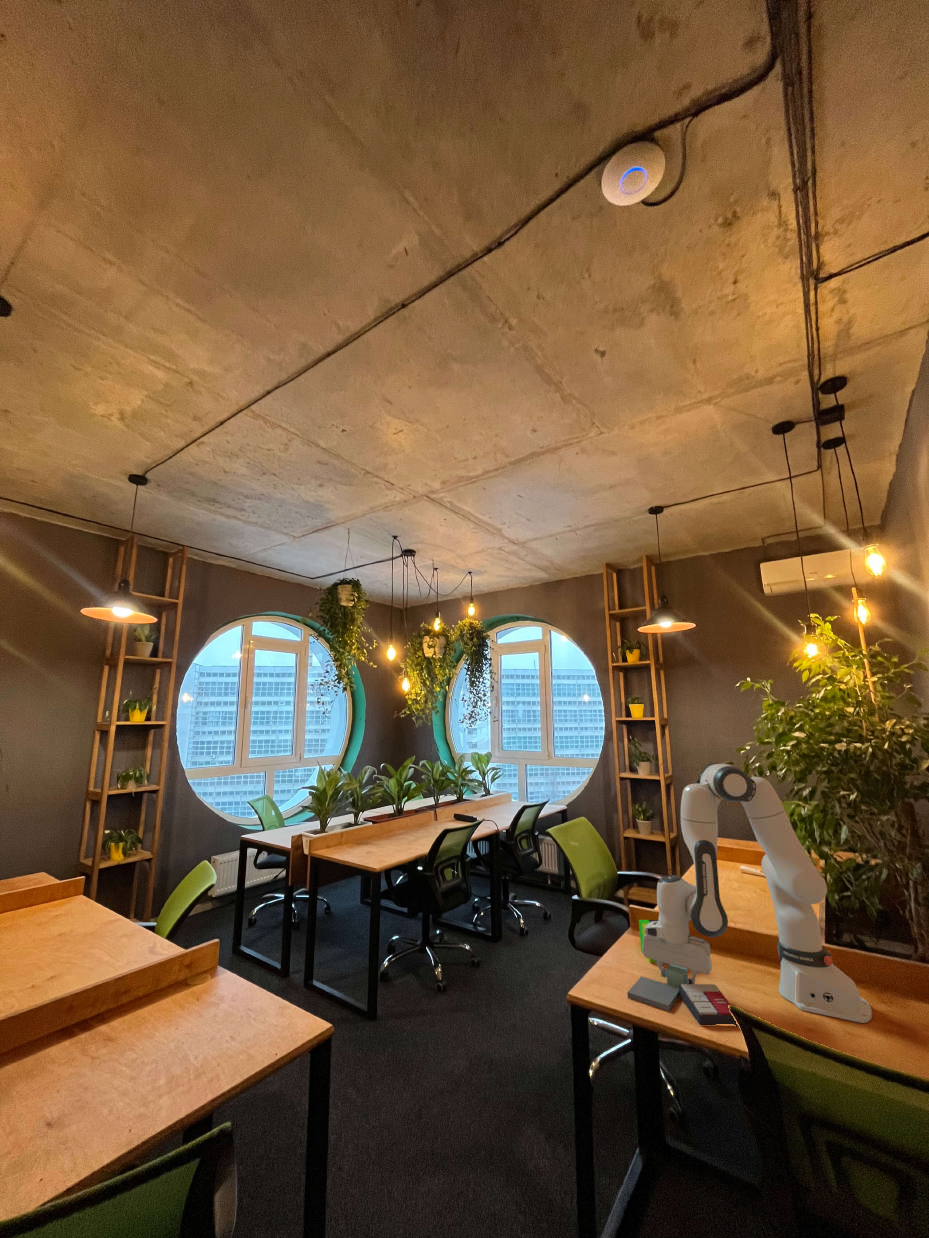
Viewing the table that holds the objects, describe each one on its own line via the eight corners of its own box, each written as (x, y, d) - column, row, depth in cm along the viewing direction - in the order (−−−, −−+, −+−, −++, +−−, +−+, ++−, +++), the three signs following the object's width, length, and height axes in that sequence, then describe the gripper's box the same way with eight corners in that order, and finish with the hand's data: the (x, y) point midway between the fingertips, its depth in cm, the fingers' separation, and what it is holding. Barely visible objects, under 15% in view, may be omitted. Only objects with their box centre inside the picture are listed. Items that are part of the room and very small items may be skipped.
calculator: (699, 1012, 137) (678, 981, 152) (700, 1029, 137) (679, 996, 152) (740, 1013, 137) (715, 981, 152) (741, 1030, 136) (716, 997, 151)
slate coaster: (681, 993, 153) (680, 988, 153) (669, 1011, 144) (668, 1005, 144) (641, 981, 160) (641, 976, 161) (627, 997, 151) (627, 991, 151)
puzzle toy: (679, 963, 172) (677, 931, 174) (650, 963, 172) (648, 931, 174) (668, 950, 182) (666, 919, 184) (640, 950, 182) (638, 919, 184)
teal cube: (689, 985, 158) (687, 968, 159) (684, 992, 154) (683, 974, 155) (672, 980, 161) (671, 963, 162) (667, 987, 157) (666, 969, 158)
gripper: (712, 936, 156) (716, 986, 154) (645, 920, 169) (648, 967, 166) (706, 943, 152) (711, 995, 149) (639, 927, 164) (642, 974, 161)
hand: (677, 980), depth 158 cm, fingers open, 7 cm apart
